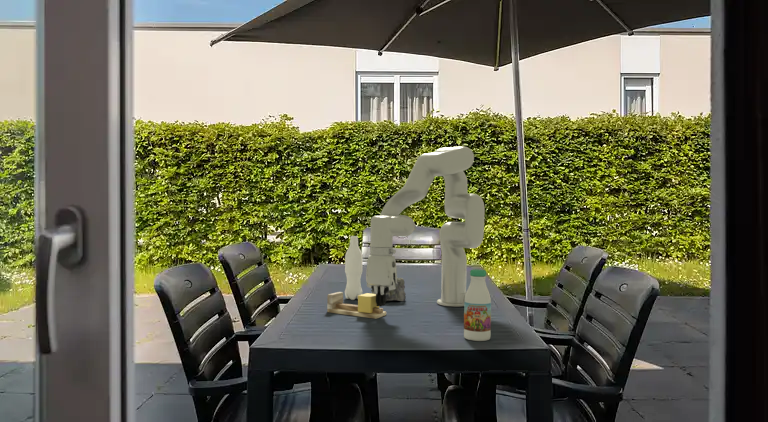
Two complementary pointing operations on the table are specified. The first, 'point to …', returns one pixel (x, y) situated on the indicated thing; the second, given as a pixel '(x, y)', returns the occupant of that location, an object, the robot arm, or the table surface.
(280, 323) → the table surface
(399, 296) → the mineral rock
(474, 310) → the milk bottle
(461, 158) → the robot arm
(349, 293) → the white bottle
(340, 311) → the rail
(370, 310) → the block
